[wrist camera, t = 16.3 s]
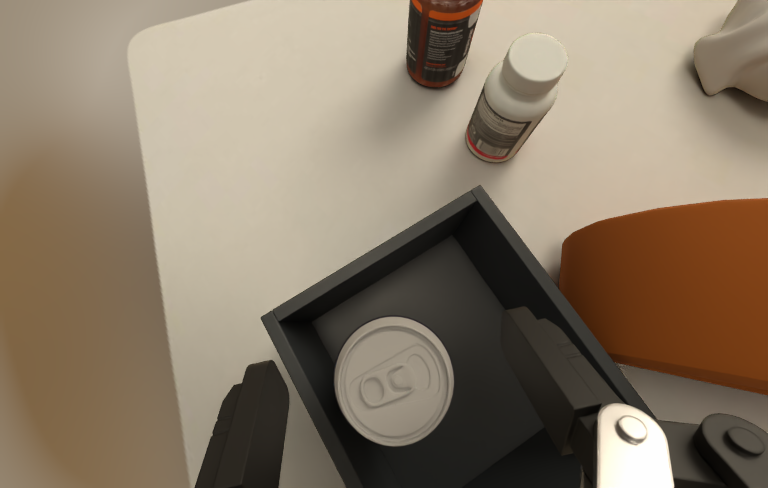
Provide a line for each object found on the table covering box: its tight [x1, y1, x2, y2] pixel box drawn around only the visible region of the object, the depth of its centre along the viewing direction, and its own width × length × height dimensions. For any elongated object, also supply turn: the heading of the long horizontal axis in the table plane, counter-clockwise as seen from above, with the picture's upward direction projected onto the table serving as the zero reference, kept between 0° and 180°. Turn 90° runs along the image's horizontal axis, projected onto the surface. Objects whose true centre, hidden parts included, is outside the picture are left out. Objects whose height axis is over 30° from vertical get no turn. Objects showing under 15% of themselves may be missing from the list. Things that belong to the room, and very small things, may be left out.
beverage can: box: [333, 315, 455, 446], centre depth 19 cm, size 6×6×12 cm
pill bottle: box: [466, 33, 568, 162], centre depth 26 cm, size 5×5×10 cm
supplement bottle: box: [406, 0, 483, 87], centre depth 27 cm, size 6×6×11 cm
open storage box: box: [261, 185, 656, 488], centre depth 21 cm, size 16×18×9 cm
